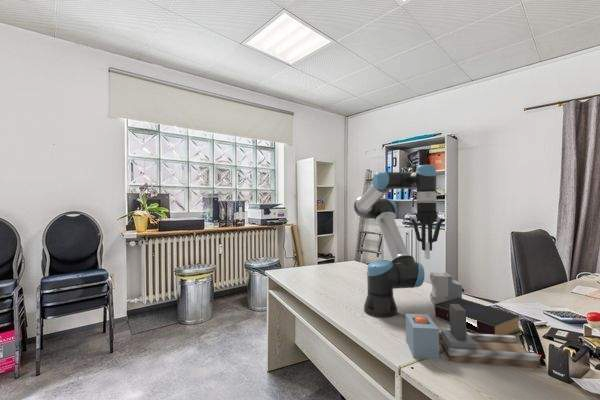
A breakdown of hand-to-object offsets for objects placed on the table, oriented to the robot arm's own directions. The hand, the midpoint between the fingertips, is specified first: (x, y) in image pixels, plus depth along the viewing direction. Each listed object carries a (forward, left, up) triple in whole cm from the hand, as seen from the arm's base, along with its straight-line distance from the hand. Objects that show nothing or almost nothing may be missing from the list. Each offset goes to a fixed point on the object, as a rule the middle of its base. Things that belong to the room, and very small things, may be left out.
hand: (427, 258), depth 120 cm
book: (+19, +3, -29) cm, 35 cm away
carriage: (+4, -21, -26) cm, 33 cm away
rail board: (+12, -21, -28) cm, 37 cm away
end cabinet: (-8, -21, -28) cm, 36 cm away
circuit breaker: (+16, +26, -28) cm, 42 cm away
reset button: (-8, -21, -21) cm, 31 cm away
